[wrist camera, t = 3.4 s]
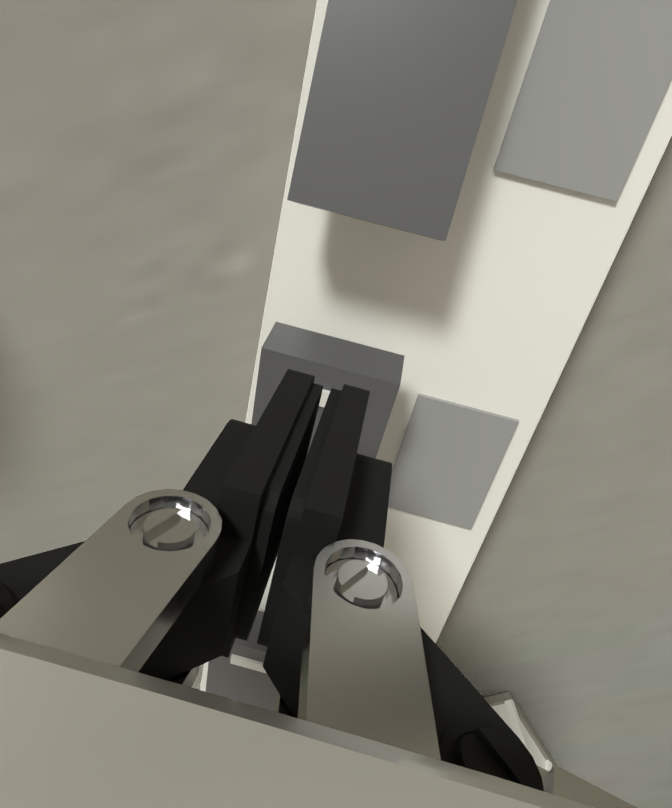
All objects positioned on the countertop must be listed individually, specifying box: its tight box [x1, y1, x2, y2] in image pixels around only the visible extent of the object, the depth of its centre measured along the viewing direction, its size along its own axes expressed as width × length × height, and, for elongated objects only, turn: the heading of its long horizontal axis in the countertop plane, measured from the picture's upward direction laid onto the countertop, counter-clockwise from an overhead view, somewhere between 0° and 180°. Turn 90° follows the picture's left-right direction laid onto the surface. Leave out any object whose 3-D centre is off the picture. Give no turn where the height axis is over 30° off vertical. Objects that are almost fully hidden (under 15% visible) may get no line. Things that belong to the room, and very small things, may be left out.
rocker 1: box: [205, 611, 278, 711], centre depth 22 cm, size 8×4×2 cm, turn 167°
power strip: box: [200, 0, 672, 691], centre depth 20 cm, size 33×9×4 cm, turn 167°
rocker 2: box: [287, 0, 517, 241], centre depth 12 cm, size 8×4×2 cm, turn 167°
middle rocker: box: [251, 322, 404, 458], centre depth 17 cm, size 8×4×2 cm, turn 167°
